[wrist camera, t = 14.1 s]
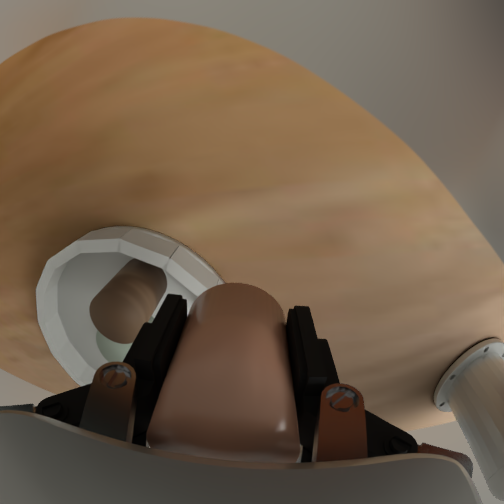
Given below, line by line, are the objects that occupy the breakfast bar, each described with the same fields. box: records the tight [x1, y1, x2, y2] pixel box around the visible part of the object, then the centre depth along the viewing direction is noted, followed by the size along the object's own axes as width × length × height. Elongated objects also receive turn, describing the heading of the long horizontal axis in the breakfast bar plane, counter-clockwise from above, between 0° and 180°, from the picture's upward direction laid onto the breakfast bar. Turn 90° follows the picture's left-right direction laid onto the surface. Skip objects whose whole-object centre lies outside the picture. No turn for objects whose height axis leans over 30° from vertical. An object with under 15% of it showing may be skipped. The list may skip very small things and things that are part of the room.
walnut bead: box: [89, 258, 167, 344], centre depth 20 cm, size 4×4×6 cm
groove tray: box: [36, 226, 225, 386], centre depth 24 cm, size 20×20×4 cm
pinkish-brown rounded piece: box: [146, 283, 300, 463], centre depth 9 cm, size 4×4×6 cm
